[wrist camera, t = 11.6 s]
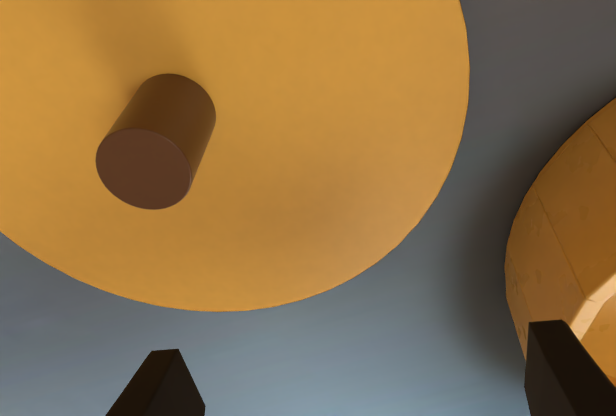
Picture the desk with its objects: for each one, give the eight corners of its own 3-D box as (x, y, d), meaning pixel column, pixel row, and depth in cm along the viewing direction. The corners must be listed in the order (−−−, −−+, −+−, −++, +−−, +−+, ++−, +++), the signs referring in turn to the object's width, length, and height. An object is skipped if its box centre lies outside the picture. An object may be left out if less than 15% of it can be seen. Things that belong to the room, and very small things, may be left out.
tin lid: (470, 270, 23) (494, 364, 19) (54, 310, 26) (4, 399, 22) (452, -349, 12) (496, -407, 9) (-247, -166, 15) (-440, -151, 11)
